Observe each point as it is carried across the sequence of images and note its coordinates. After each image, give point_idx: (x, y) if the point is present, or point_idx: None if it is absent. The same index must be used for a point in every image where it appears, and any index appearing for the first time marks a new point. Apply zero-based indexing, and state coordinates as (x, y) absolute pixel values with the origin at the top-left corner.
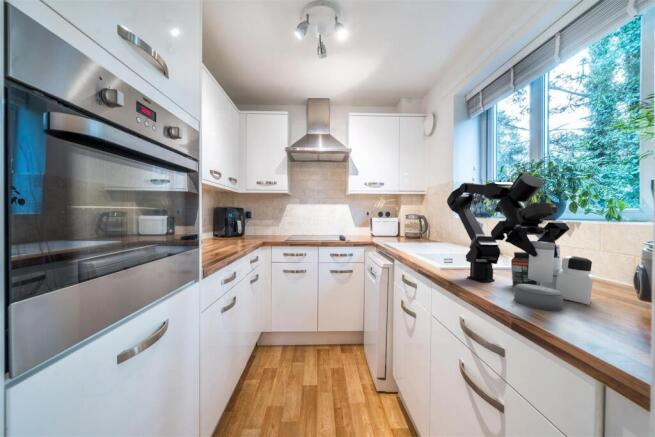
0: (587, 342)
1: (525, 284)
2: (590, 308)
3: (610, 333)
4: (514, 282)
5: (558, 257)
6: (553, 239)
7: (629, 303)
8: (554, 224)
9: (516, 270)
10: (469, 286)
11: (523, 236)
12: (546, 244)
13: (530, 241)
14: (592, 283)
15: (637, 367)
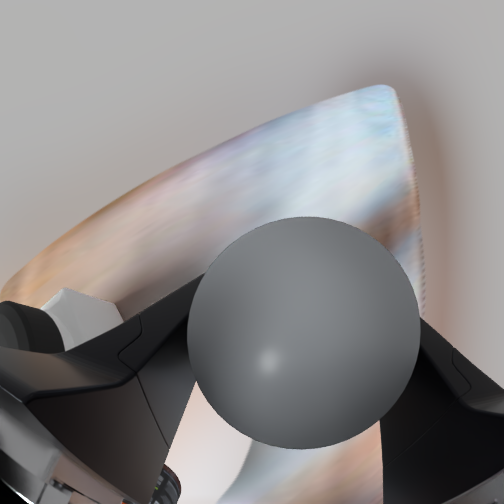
0: (377, 137)
1: None
2: (142, 281)
3: (290, 152)
4: (179, 496)
5: None
6: (110, 341)
7: (18, 294)
8: None
9: None
10: (353, 501)
11: (499, 393)
12: (358, 236)
13: (432, 358)
14: (72, 290)
15: (372, 91)
